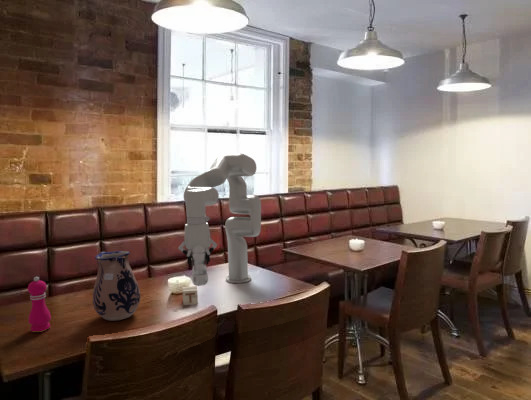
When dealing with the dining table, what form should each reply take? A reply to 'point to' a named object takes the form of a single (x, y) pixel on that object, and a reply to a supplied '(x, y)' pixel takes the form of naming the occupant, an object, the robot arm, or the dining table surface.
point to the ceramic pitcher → (115, 287)
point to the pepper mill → (38, 306)
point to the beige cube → (190, 295)
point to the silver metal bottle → (199, 266)
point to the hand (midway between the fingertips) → (199, 264)
